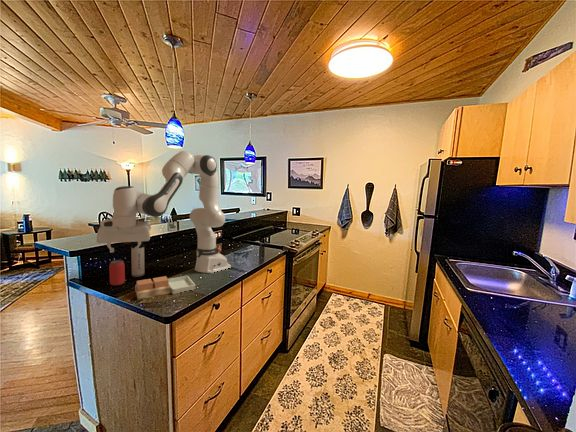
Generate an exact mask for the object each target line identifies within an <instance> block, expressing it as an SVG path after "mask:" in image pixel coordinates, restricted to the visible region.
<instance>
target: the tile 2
mask: <svg viewBox="0 0 576 432" xmlns="http://www.w3.org/2000/svg"><path fill="white" fill-rule="evenodd" d="M168 279H169V278H168V277H167V275H164V276H159V277H154V278H152V282H153V285H154V287H155V288H159V287H164V286H169V280H168Z"/></svg>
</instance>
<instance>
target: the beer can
mask: <svg viewBox="0 0 576 432" xmlns="http://www.w3.org/2000/svg"><path fill="white" fill-rule="evenodd" d="M108 267H109V272H108V273H109V285H111V286H120V285H122V284H125V282H126V271H125V269H126V268H125V267H126V266H125V262H124V260H123V259H115V260H112V261H110V262H109V266H108Z"/></svg>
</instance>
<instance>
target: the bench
mask: <svg viewBox="0 0 576 432" xmlns="http://www.w3.org/2000/svg"><path fill="white" fill-rule="evenodd" d="M134 292H135V295H136V299H137V301H138V300H139V301H140V300H143V299H144V300H145V299H148V298H155V297H158V296H163V295H168V294H172V293H171V287H170V285H169V286H164V287H159V288H155V287H154V285H153V289H148V290H143V291H138V289H137V284H135V285H134Z"/></svg>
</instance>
